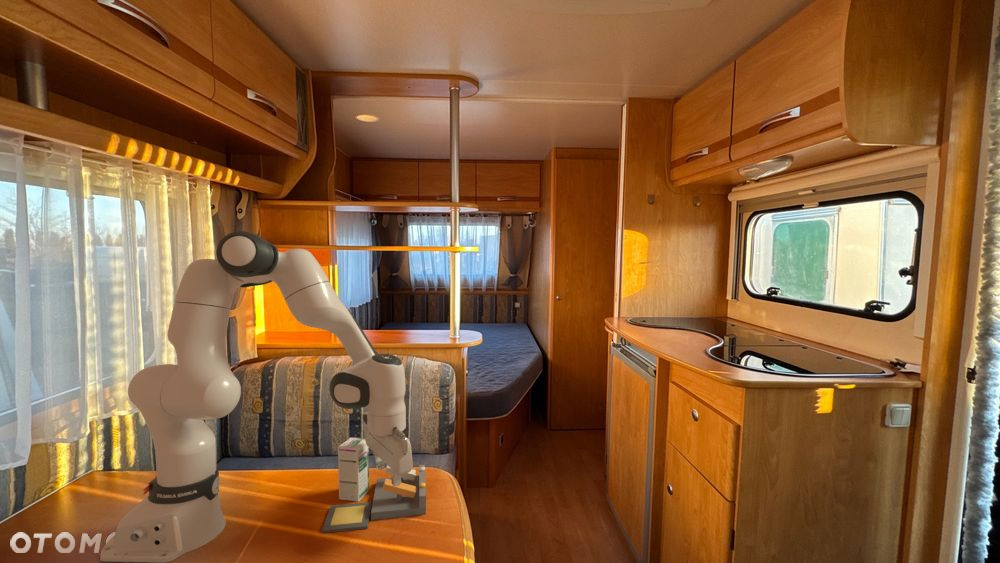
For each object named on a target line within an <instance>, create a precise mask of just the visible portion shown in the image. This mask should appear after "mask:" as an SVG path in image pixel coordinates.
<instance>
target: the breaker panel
mask: <svg viewBox="0 0 1000 563" xmlns="http://www.w3.org/2000/svg"><path fill="white" fill-rule="evenodd" d="M418 470H419V471H418V475H416V476H415V479H414V481H412V480H409V479H405V478H401V483H405V484H409V485H412V486H416V493H415V496H414V498H411V497H407V496H403V495H399V494H395V493H391V492H387V491H384V490H383V484H384V482H385V479H390V480H391V477H383V478H380V477H379V478H376V482H375V488H374V495H373V499H372V505H371V511H370V521H371V522H372V521H378V520H387V519H388V520H389V519H397V518H407V517H415V516H421V515H422V516H423V515H427V484H426V464H419V465H418Z"/></svg>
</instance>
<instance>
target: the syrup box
mask: <svg viewBox="0 0 1000 563" xmlns="http://www.w3.org/2000/svg"><path fill="white" fill-rule="evenodd" d="M369 449H370V448H369V447H368V446H367V444H366V441H365V438H361V437H349V438H348V439H347V440H346V441H344V442H342V443H341V444H340V445H338V447H337V460H338V462H337V463H338V469H337V470H338V499H339V500H344V501H352V502H357V503H358V502H359V503H360V501H361V500H362V499H363V498H364V497H365V496H366V494H367V493H368V492H369V491H370V456H369V455H370V451H369Z"/></svg>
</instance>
